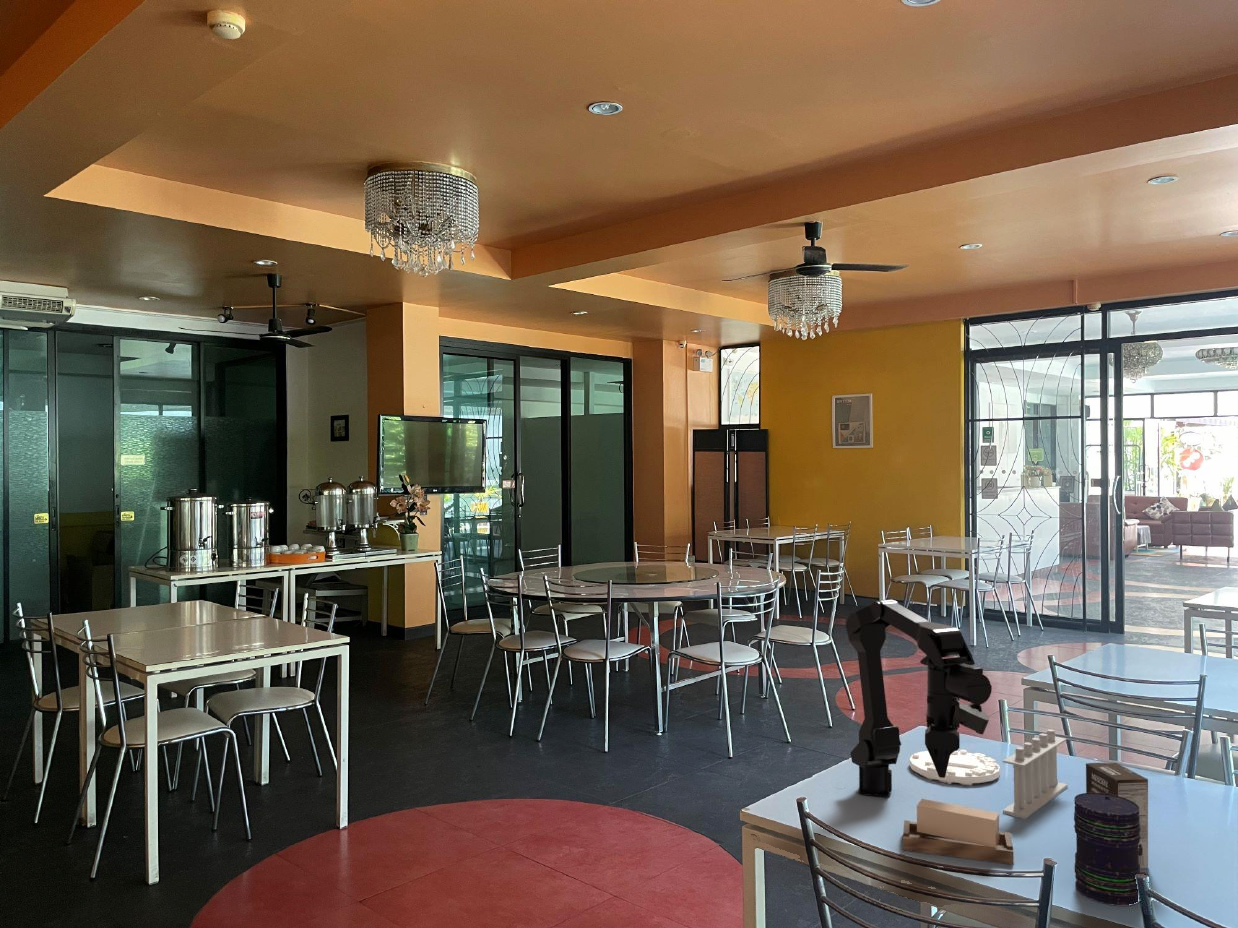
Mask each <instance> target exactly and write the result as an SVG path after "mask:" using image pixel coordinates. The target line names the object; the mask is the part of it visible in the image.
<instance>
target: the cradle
mask: <svg viewBox="0 0 1238 928" xmlns="http://www.w3.org/2000/svg"><path fill="white" fill-rule="evenodd" d="M902 834H903V835H902V836H903V837H902V845H903V846H902V848H903V849H902V850H903V851H906V852H908V851H909V852H915V853H923V854H930V855H939V856H945V857H946V856H947V857H954V858H959V859H968V860H969V859H970V860H977V861H982V862H983V861H984V862H991V863H992V862H993V863H999V864H1007V865H1014V857H1015V855H1014V845H1013V841H1012V836H1011V832H1006V831H1004V832H1001V831H999V842H998V844H997V846H996V848H994V847H989V846H984V845H979V844H974V843H969V842H965V841H960V840H955V839H950V838H945V837H940V836H936V835H931V834H926V833H921V832H917V821H910V820H906V819H904V820H903V833H902Z"/></svg>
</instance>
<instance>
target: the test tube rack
mask: <svg viewBox="0 0 1238 928" xmlns="http://www.w3.org/2000/svg"><path fill="white" fill-rule="evenodd" d="M1065 742H1067V738H1065V737H1059V736H1056V731H1055V729H1047V730H1046V733H1039V736H1038V737H1032V738H1031V741H1030V742H1029V741H1028V742H1024V743H1023V745H1022V746H1023V747H1021V746H1017V747H1015V750H1014V751H1015V753H1013V754H1012V755H1009V756H1008V757H1006V758H1005V759H1003V760H1002V763H1005V764H1009V765H1012V768H1013V802H1011V804H1010V805H1008V806H1007V807H1005V808H1004V809H1002V814H1004V815H1008V816H1013V817H1016V818H1020V819H1023V820H1025V819H1027V818H1028V817H1030V816H1031V815H1032V814H1033V813H1035V812H1036V811H1038V810H1039V809H1040V808H1042V807H1044V806H1045V804H1047V803H1049V802H1050V801H1051V800H1053V799H1054V798H1055V797H1057V796H1058V795H1059V794H1061V793H1062V792H1064V791H1065V790H1066V789H1068V787H1069V786H1068V783H1067V784H1066V783H1062V782H1059V780H1058V763H1057V762H1058V755H1057V752H1058V751H1057V749H1058V746H1061V744H1063V743H1065Z"/></svg>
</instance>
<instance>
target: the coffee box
mask: <svg viewBox="0 0 1238 928" xmlns="http://www.w3.org/2000/svg"><path fill="white" fill-rule="evenodd" d="M1085 789H1086V790H1085V793H1103V794H1110V795H1115V796H1119V797H1122V798H1125V799H1128V800H1130V801H1132V802H1134V803H1136V804H1137V805H1138V806H1139V817H1140V837H1141V838H1140V842H1139V844H1138V863H1139V864H1140V869H1148V868H1149V779H1148V778H1147V777H1144V776H1142V775H1141V774H1139V773H1136V772H1135V771H1133V770H1131V769H1129V768H1128V767H1125V766H1124V765H1121V764H1120V763H1118V762H1089V763H1087V762H1086V763H1085Z"/></svg>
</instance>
